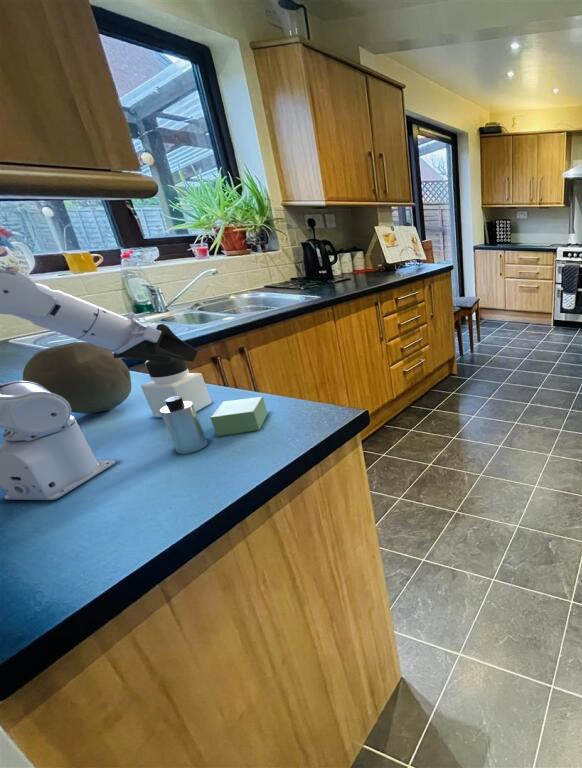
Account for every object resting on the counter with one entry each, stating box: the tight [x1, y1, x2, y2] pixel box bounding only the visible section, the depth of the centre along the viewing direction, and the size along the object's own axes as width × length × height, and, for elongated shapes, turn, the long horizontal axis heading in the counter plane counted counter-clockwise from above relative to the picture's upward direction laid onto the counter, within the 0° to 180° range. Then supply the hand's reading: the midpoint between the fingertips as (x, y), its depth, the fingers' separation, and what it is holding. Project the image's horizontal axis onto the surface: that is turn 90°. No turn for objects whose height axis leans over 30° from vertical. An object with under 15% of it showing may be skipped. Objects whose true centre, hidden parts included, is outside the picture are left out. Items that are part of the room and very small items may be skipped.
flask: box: [160, 396, 208, 455], centre depth 69 cm, size 4×4×10 cm
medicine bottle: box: [140, 357, 212, 418], centre depth 82 cm, size 7×7×12 cm
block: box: [210, 396, 269, 437], centre depth 77 cm, size 7×7×4 cm
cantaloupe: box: [22, 341, 132, 414], centre depth 81 cm, size 14×14×15 cm
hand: (182, 357), depth 73 cm, fingers open, 7 cm apart
